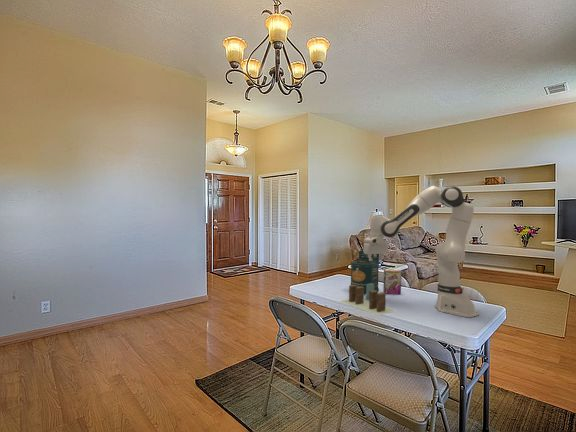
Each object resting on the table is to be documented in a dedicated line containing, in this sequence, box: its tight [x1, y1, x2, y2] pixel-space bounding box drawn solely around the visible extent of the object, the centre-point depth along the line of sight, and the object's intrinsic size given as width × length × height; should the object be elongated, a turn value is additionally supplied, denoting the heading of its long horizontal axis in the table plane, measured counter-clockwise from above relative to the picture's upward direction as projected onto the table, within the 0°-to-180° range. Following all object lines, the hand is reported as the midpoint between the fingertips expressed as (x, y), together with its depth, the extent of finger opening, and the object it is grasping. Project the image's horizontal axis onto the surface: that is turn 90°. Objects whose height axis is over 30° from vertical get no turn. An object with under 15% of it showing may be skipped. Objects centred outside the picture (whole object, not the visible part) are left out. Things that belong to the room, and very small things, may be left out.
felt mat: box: [339, 298, 396, 316], centre depth 185 cm, size 31×15×1 cm, turn 33°
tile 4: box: [355, 286, 365, 304], centre depth 189 cm, size 2×5×10 cm, turn 123°
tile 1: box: [377, 292, 387, 312], centre depth 176 cm, size 2×5×10 cm, turn 123°
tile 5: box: [348, 284, 357, 302], centre depth 194 cm, size 2×5×10 cm, turn 123°
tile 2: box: [368, 290, 379, 309], centre depth 180 cm, size 2×5×10 cm, turn 123°
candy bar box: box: [383, 268, 402, 295], centre depth 215 cm, size 11×5×16 cm, turn 84°
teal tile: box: [365, 283, 374, 300], centre depth 200 cm, size 2×5×10 cm, turn 123°
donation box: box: [350, 250, 380, 295], centre depth 219 cm, size 16×16×28 cm
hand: (375, 260), depth 202 cm, fingers open, 8 cm apart
